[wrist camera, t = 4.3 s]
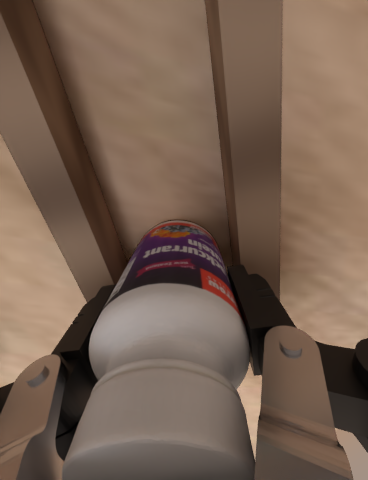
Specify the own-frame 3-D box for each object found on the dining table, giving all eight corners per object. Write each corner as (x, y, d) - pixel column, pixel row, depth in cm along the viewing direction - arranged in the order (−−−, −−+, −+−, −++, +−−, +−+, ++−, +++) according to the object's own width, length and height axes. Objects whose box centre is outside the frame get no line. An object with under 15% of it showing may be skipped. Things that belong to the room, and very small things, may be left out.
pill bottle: (232, 233, 12) (364, 457, 3) (201, 297, 14) (226, 540, 5) (149, 205, 11) (18, 388, 2) (129, 276, 13) (18, 515, 5)
